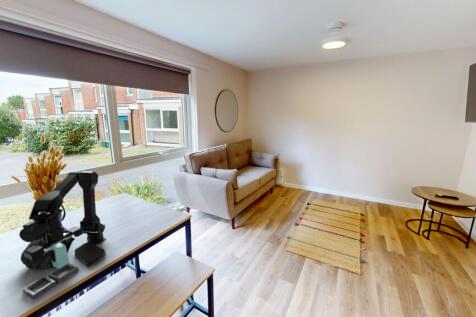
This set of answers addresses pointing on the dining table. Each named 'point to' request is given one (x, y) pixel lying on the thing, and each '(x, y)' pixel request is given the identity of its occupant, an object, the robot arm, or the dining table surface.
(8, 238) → the dining table surface
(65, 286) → the dining table surface
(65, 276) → the grey square frame
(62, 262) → the plug
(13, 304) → the dining table surface
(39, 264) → the squash
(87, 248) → the black sponge
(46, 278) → the port block
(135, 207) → the dining table surface
